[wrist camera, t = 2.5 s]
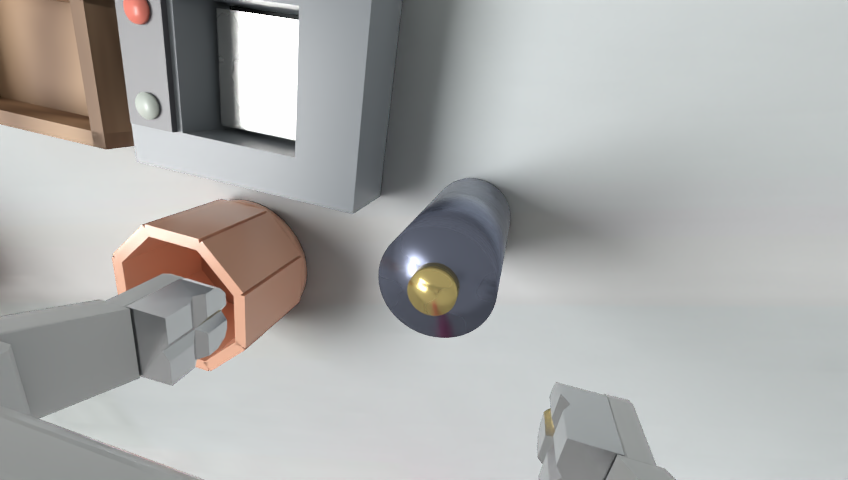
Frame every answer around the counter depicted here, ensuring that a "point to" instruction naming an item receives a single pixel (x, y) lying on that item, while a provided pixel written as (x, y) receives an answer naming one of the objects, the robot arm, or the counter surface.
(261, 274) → the cup
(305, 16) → the grey rectangular frame box
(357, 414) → the counter surface
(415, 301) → the cell
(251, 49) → the plate
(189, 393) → the counter surface
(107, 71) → the trough
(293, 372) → the counter surface
